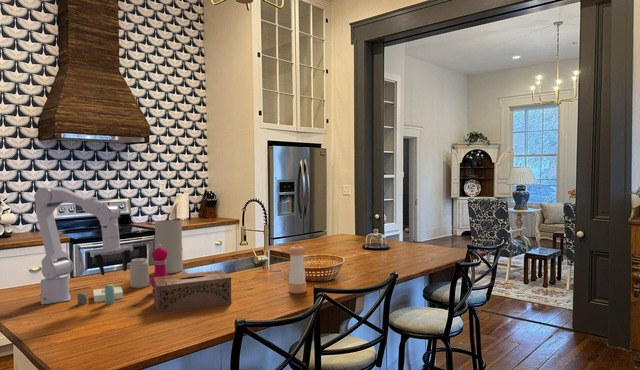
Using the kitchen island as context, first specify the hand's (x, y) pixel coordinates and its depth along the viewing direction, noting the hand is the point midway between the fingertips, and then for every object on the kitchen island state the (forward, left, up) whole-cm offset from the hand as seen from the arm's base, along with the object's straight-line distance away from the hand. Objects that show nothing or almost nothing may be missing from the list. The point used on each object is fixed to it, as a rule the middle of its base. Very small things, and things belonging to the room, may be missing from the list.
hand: (114, 272), depth 161 cm
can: (+11, +20, -12) cm, 26 cm away
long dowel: (-2, -1, -11) cm, 12 cm away
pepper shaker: (+66, -23, -12) cm, 71 cm away
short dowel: (-11, +4, -11) cm, 16 cm away
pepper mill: (+17, +4, -12) cm, 21 cm away
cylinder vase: (+28, +43, -12) cm, 53 cm away
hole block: (-2, +9, -11) cm, 15 cm away
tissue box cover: (+25, -17, -12) cm, 32 cm away
